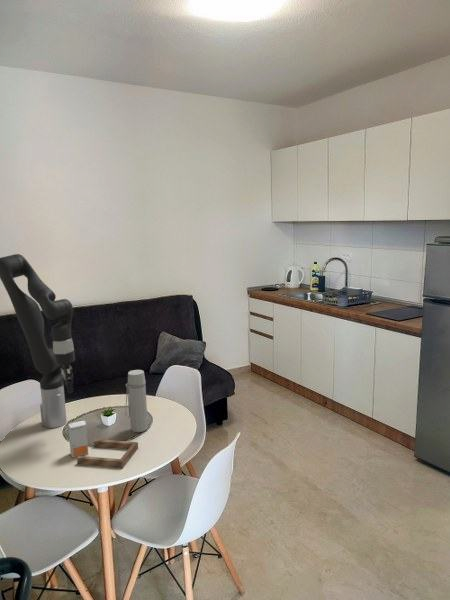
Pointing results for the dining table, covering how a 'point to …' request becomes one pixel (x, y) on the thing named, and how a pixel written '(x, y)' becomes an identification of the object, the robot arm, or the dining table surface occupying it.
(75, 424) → the skincare box
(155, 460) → the dining table surface
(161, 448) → the dining table surface
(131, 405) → the water bottle
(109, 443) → the brown wooden frame
